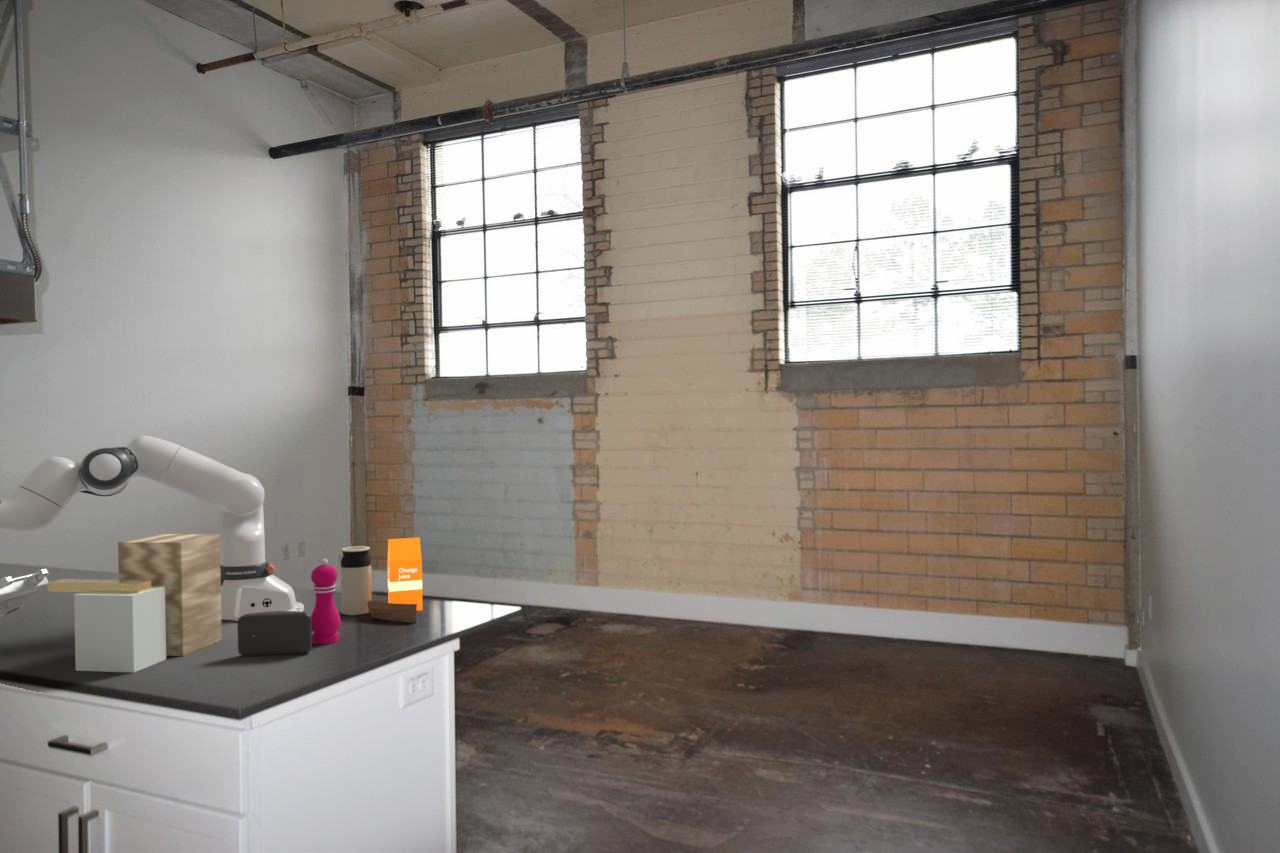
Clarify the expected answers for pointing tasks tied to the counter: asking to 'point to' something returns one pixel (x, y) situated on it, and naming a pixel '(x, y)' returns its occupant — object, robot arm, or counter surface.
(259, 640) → the red-dot charcoal block
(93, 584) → the tan long flat block
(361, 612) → the travel mug
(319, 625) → the pepper mill
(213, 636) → the oak pedestal
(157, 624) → the pale grey block
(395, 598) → the orange juice
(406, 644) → the counter surface
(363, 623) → the counter surface
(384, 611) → the wood plank
